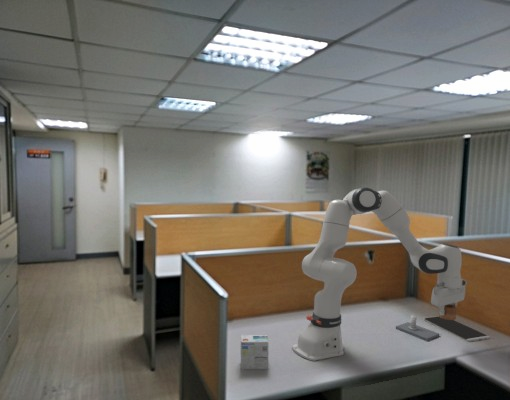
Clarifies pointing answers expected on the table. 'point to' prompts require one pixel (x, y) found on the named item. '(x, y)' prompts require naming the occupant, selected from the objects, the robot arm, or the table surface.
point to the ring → (449, 312)
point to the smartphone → (457, 329)
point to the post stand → (417, 330)
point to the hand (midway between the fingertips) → (447, 313)
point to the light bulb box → (254, 352)
